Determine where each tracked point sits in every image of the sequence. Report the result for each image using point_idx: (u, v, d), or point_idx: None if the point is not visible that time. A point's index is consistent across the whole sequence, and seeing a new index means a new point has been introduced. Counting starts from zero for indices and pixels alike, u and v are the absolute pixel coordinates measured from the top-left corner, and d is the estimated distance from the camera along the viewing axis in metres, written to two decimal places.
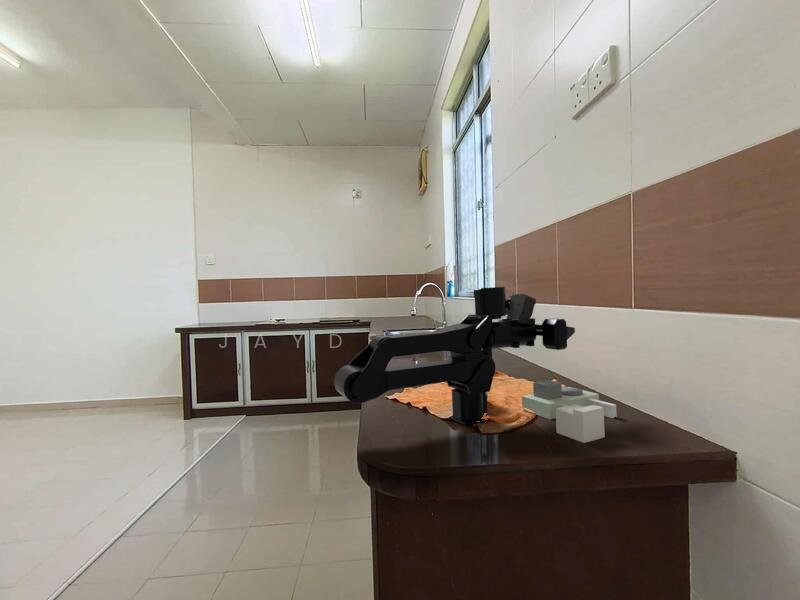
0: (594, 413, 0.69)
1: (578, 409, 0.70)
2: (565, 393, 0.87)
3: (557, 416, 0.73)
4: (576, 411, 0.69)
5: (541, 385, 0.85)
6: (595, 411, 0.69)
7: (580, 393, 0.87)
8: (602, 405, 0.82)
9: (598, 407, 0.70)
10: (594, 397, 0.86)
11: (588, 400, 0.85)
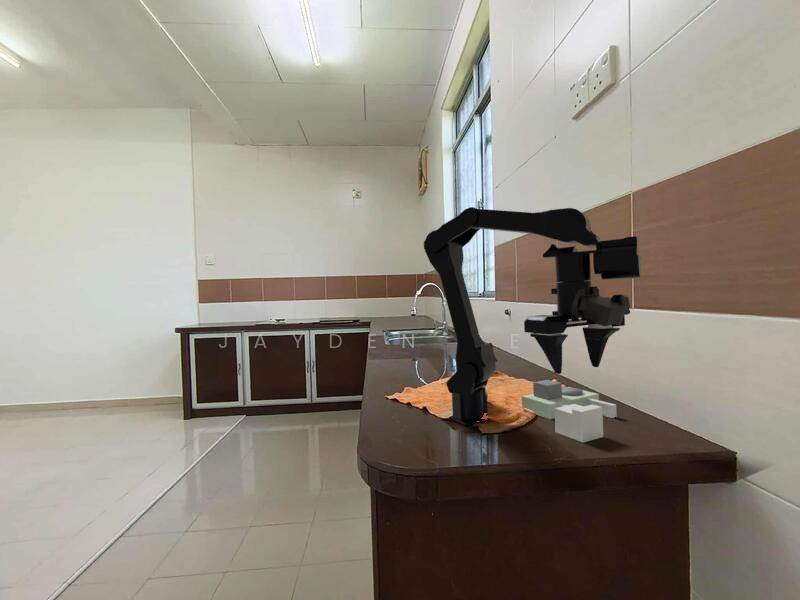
0: (593, 413, 0.70)
1: (577, 409, 0.70)
2: (565, 393, 0.87)
3: (556, 416, 0.74)
4: (575, 411, 0.70)
5: (541, 385, 0.85)
6: (594, 411, 0.70)
7: (580, 393, 0.87)
8: (602, 405, 0.82)
9: (597, 407, 0.71)
10: (594, 397, 0.86)
11: (588, 400, 0.85)
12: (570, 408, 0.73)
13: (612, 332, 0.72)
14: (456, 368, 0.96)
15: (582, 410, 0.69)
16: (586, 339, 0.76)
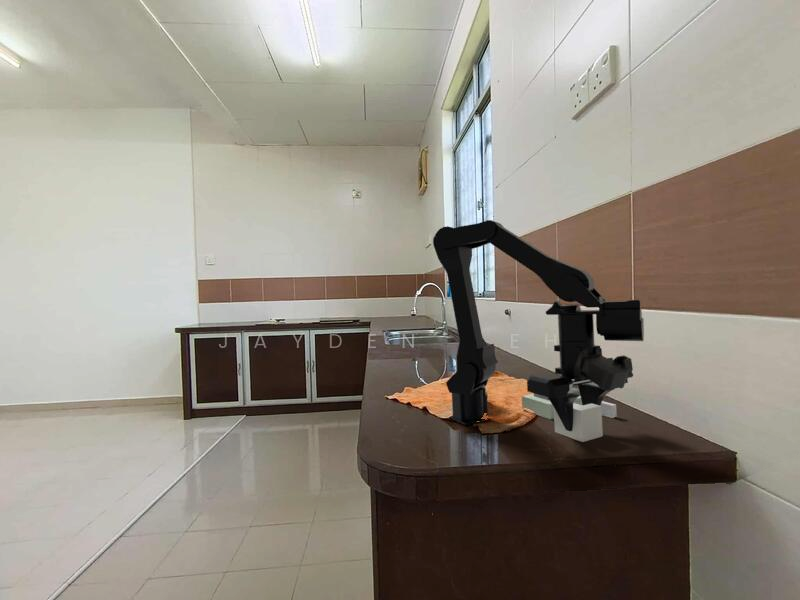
0: (592, 411, 0.70)
1: (576, 408, 0.70)
2: None
3: (555, 415, 0.74)
4: (574, 410, 0.70)
5: None
6: (593, 410, 0.70)
7: None
8: (602, 405, 0.82)
9: (596, 406, 0.71)
10: None
11: None
12: None
13: (607, 391, 0.71)
14: (456, 368, 0.96)
15: (581, 409, 0.69)
16: (581, 396, 0.75)
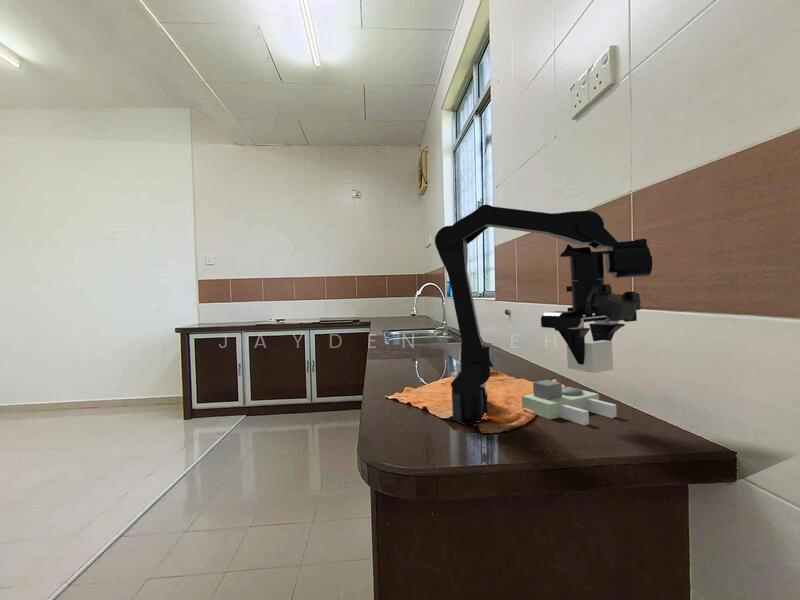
0: (603, 345, 0.75)
1: (588, 342, 0.75)
2: (565, 393, 0.87)
3: (568, 352, 0.79)
4: (586, 344, 0.75)
5: (541, 385, 0.85)
6: (604, 344, 0.75)
7: (580, 393, 0.87)
8: (602, 405, 0.82)
9: (607, 341, 0.75)
10: (594, 397, 0.86)
11: (588, 400, 0.85)
12: None
13: (617, 328, 0.76)
14: (456, 368, 0.96)
15: (593, 343, 0.74)
16: (593, 335, 0.80)
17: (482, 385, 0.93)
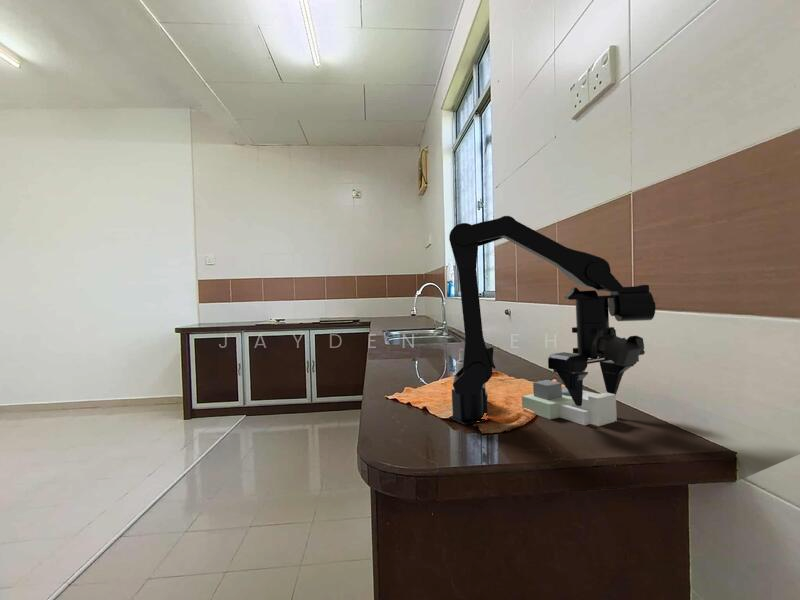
0: (607, 399, 0.77)
1: (593, 396, 0.78)
2: (565, 393, 0.87)
3: (573, 403, 0.81)
4: (591, 398, 0.77)
5: (541, 385, 0.85)
6: (608, 398, 0.77)
7: None
8: None
9: (611, 394, 0.78)
10: None
11: None
12: (586, 396, 0.81)
13: (627, 368, 0.80)
14: (456, 368, 0.96)
15: (598, 397, 0.77)
16: (603, 372, 0.83)
17: None
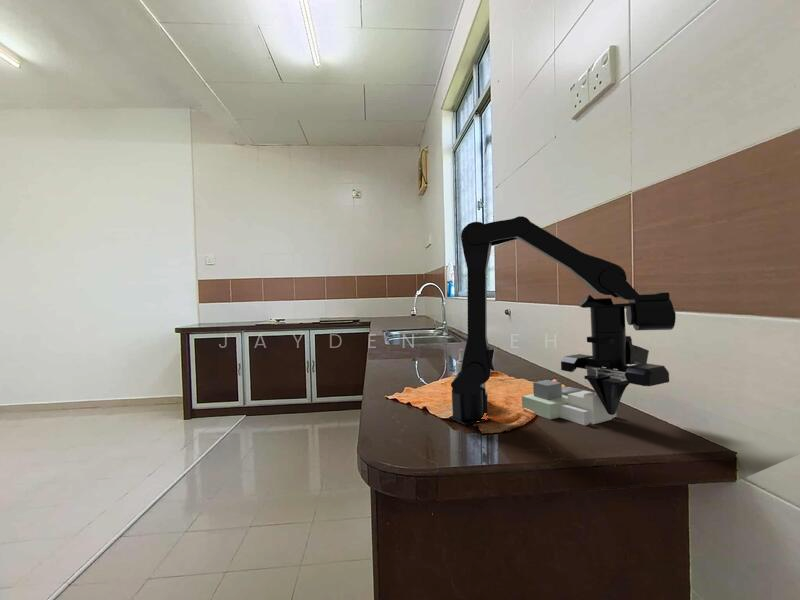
0: None
1: (588, 394, 0.79)
2: (565, 393, 0.87)
3: (569, 401, 0.82)
4: (586, 395, 0.78)
5: (541, 385, 0.85)
6: None
7: None
8: None
9: None
10: None
11: None
12: (582, 394, 0.82)
13: None
14: (456, 368, 0.96)
15: (593, 395, 0.78)
16: (601, 389, 0.76)
17: (482, 385, 0.93)
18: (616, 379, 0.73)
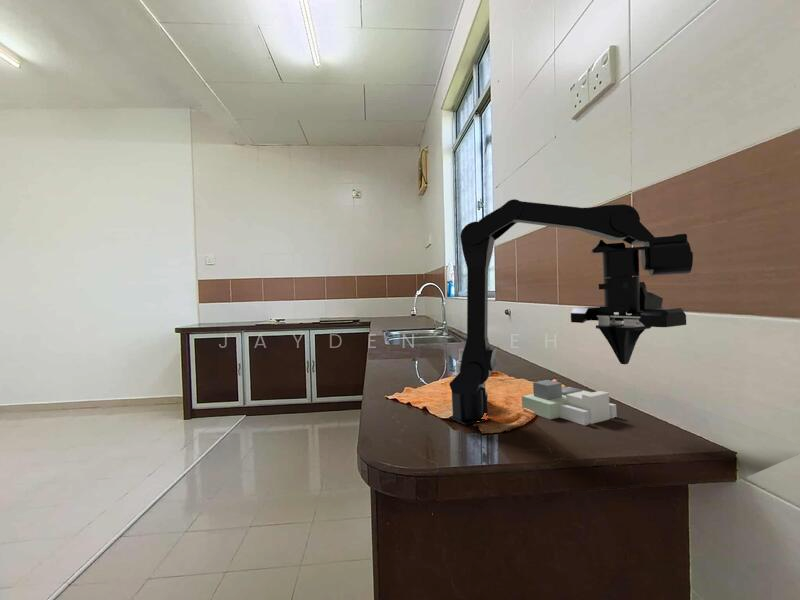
0: (601, 398, 0.79)
1: (586, 394, 0.79)
2: (565, 393, 0.87)
3: (567, 401, 0.82)
4: (585, 396, 0.79)
5: (541, 385, 0.85)
6: (601, 396, 0.79)
7: None
8: None
9: (604, 392, 0.80)
10: None
11: None
12: (580, 394, 0.82)
13: None
14: (456, 368, 0.96)
15: (591, 395, 0.78)
16: (613, 338, 0.73)
17: (482, 385, 0.93)
18: (630, 325, 0.70)
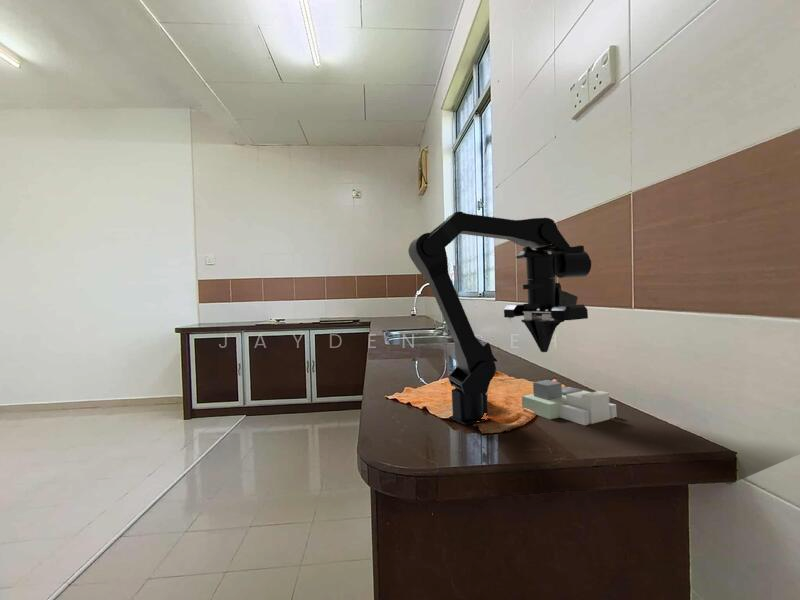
0: (601, 397, 0.79)
1: (586, 394, 0.79)
2: (565, 393, 0.87)
3: (567, 401, 0.82)
4: (585, 396, 0.79)
5: (541, 385, 0.85)
6: (601, 396, 0.79)
7: None
8: None
9: (604, 392, 0.80)
10: None
11: None
12: (580, 394, 0.82)
13: None
14: None
15: (591, 395, 0.78)
16: (534, 330, 0.87)
17: None
18: (546, 319, 0.84)
